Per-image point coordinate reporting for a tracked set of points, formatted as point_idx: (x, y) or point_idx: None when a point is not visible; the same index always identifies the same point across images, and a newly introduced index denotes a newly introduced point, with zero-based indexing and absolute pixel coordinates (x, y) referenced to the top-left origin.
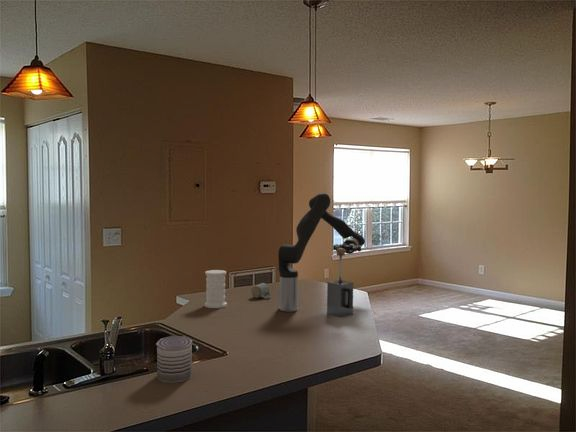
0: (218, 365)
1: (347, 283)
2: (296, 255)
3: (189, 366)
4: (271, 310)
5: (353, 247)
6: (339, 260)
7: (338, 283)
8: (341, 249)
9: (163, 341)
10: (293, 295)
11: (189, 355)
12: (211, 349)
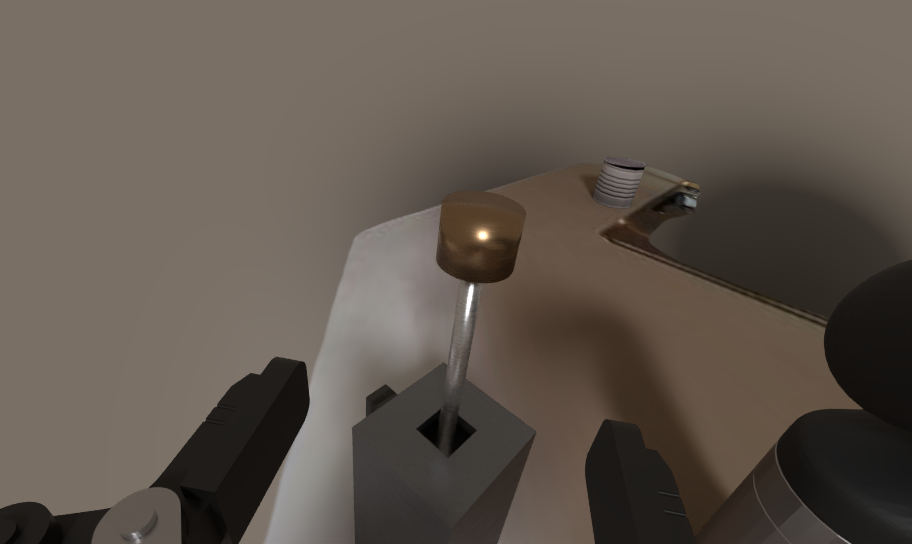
0: (586, 214)
1: (397, 396)
2: (847, 302)
3: (596, 184)
4: None
5: (271, 379)
6: (478, 303)
7: None
8: (473, 191)
9: (637, 162)
10: (718, 510)
11: (600, 172)
12: (638, 247)
